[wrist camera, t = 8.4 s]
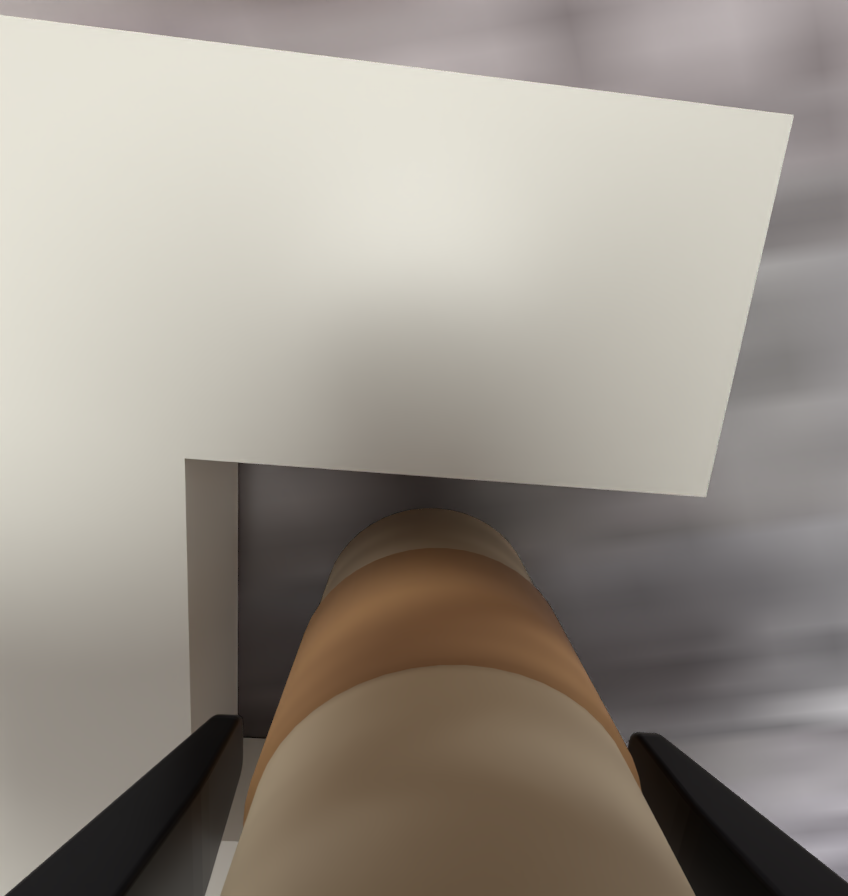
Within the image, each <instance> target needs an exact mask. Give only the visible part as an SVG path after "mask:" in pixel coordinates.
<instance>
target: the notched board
mask: <svg viewBox="0 0 848 896" xmlns="http://www.w3.org/2000/svg"><path fill="white" fill-rule="evenodd" d="M793 117H794V115H790V114H782V113H774V112H766V111H758V110H750V109H742V108H734V107H726V106H718V105H710V104H702V103H695V102H687V101H679V100H671V99H663V98H655V97H647V96H639V95H631V94H623V93H615V92H607V91H599V90H591V89H583V88H576V87H568V86H560V85H552V84H544V83H536V82H528V81H520V80H512V79H504V78H496V77H488V76H480V75H472V74H464V73H457V72H449V71H441V70H433V69H425V68H417V67H409V66H401V65H393V64H385V63H377V62H369V61H361V60H353V59H346V58H338V57H330V56H322V55H314V54H306V53H298V52H290V51H282V50H274V49H266V48H258V47H250V46H242V45H234V44H227V43H219V42H211V41H203V40H195V39H187V38H179V37H171V36H163V35H155V34H147V33H139V32H131V31H123V30H115V29H108V28H100V27H92V26H84V25H76V24H68V23H60V22H52V21H44V20H36V19H28V18H20V17H12V16H4V15H0V896H4V895H6V894H7V893H8V892H9V891H10V890H11V889H12V888H14V887H15V886H16V885H17V884H18V883H19V882H21V881H22V880H23V879H24V878H25V877H26V876H28V875H29V874H30V873H31V872H32V871H33V870H34V869H36V868H37V867H38V866H39V865H40V864H41V863H43V862H44V861H45V860H46V859H47V858H48V857H50V856H51V855H52V854H53V853H54V852H55V851H57V850H58V849H59V848H60V847H61V846H62V845H63V844H65V843H66V842H67V841H68V840H69V839H70V838H72V837H73V836H74V835H75V834H76V833H77V832H79V831H80V830H81V829H82V828H83V827H84V826H85V825H87V824H88V823H89V822H90V821H91V820H92V819H94V818H95V817H96V816H97V815H98V814H99V813H101V812H102V811H103V810H104V809H105V808H106V807H108V806H109V805H110V804H111V803H112V802H113V801H114V800H116V799H117V798H118V797H119V796H120V795H121V794H123V793H124V792H125V791H126V790H127V789H128V788H130V787H131V786H132V785H133V784H134V783H135V782H136V781H138V780H139V779H140V778H141V777H142V776H143V775H145V774H146V773H147V772H148V771H149V770H150V769H152V768H153V767H154V766H155V765H156V764H157V763H159V762H160V761H161V760H162V759H163V758H164V757H165V756H167V755H168V754H169V753H170V752H171V751H172V750H174V749H175V748H176V747H177V746H178V745H179V744H181V743H182V742H183V741H184V740H185V739H186V738H187V737H189V736H190V735H191V734H192V733H193V732H194V731H196V730H197V729H198V728H199V727H200V726H201V725H203V724H204V723H205V722H206V721H207V720H208V719H210V718H211V717H212V716H214V715H217V714H228V715H238V462H240V463H253V464H267V465H280V466H294V467H307V468H320V469H334V470H347V471H361V472H374V473H388V474H401V475H415V476H428V477H441V478H455V479H468V480H482V481H495V482H509V483H522V484H535V485H549V486H562V487H576V488H589V489H603V490H616V491H630V492H643V493H656V494H670V495H683V496H697V497H706V495H707V490H708V486H709V482H710V477H711V473H712V469H713V464H714V460H715V456H716V451H717V447H718V442H719V438H720V434H721V429H722V425H723V421H724V416H725V412H726V408H727V403H728V399H729V395H730V390H731V386H732V382H733V377H734V373H735V369H736V364H737V360H738V356H739V351H740V347H741V343H742V338H743V334H744V330H745V325H746V321H747V317H748V312H749V308H750V304H751V299H752V295H753V291H754V286H755V282H756V278H757V273H758V269H759V265H760V260H761V256H762V252H763V247H764V243H765V239H766V234H767V230H768V226H769V221H770V217H771V213H772V208H773V204H774V200H775V195H776V191H777V187H778V182H779V178H780V174H781V169H782V165H783V161H784V156H785V152H786V148H787V143H788V139H789V135H790V130H791V126H792V122H793ZM265 740H266V739H261V738H243V764H242V770H241V775H240V779H239V782H238V785H237V789H236V792H235V796H234V799H233V803H232V806H231V809H230V813H229V816H228V820H227V823H226V826H225V830H224V833H223V837H222V840H221V844H220V847H219V850H218V854H217V857H216V861H215V864H214V868H213V871H212V874H211V878H210V881H209V884H208V887H207V891H206V894H205V896H220V894H221V892H222V889H223V886H224V883H225V880H226V877H227V874H228V871H229V868H230V865H231V862H232V859H233V857H234V854H235V851H236V848H237V845H238V842H239V839H240V836H241V833H242V830H243V819H244V808H245V801H246V797H247V793H248V790H249V786H250V782H251V779H252V776H253V774H254V771H255V768H256V765H257V762H258V760H259V757H260V754H261V751H262V749H263V746H264V743H265Z"/></svg>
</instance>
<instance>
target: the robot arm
mask: <svg viewBox="0 0 848 896" xmlns="http://www.w3.org/2000/svg"><path fill="white" fill-rule="evenodd" d="M628 750H629V752H630V754H631V756H632V758H633V761H634V764H635V767H636V770H637V772H638V775H639V779H640V785H641V791H642V794H643V796H644V798H645V800H646V802H647V804H648V805H649V807H650V809H651V811H652V813H653V815H654V817H655V819H656V821H657V823H658V825H659V827H660V828H661V830H662V832H663V834H664V836H665V838H666V840H667V842H668V844H669V846H670V848H671V850H672V851H673V853H674V855H675V857H676V859H677V861H678V863H679V865H680V867H681V869H682V871H683V873H684V874H685V876H686V878H687V880H688V882H689V884H690V886H691V888H692V890H693V892H694V894H695V896H848V883H847V882H846V881H845V880H844V879H842V878H841V877H840V876H839V875H837V874H836V873H835V872H833V871H832V870H831V869H830V868H828V867H827V866H826V865H825V864H823V863H822V862H821V861H820V860H818V859H817V858H816V857H815V856H813V855H812V854H811V853H809V852H808V851H807V850H806V849H804V848H803V847H802V846H801V845H799V844H798V843H797V842H796V841H794V840H793V839H792V838H791V837H789V836H788V835H787V834H785V833H784V832H783V831H782V830H780V829H779V828H778V827H777V826H775V825H774V824H773V823H772V822H770V821H769V820H768V819H767V818H765V817H764V816H763V815H761V814H760V813H759V812H758V811H756V810H755V809H754V808H753V807H751V806H750V805H749V804H748V803H746V802H745V801H744V800H743V799H741V798H740V797H739V796H737V795H736V794H735V793H734V792H732V791H731V790H730V789H729V788H727V787H726V786H725V785H724V784H722V783H721V782H720V781H719V780H717V779H716V778H715V777H713V776H712V775H711V774H710V773H708V772H707V771H706V770H705V769H703V768H702V767H701V766H700V765H698V764H697V763H696V762H694V761H693V760H692V759H691V758H689V757H688V756H687V755H686V754H684V753H683V752H682V751H681V750H679V749H678V748H677V747H676V746H674V745H673V744H672V743H670V742H669V741H668V740H667V739H665V738H664V737H663V736H661V735H659V734H657V733H644V732H636V733H633V734H632V735H631V737H630V740H629V744H628ZM242 764H243V720H242V717H241V716H239V715H228V714H217V715H214V716H212V717H211V718H210V719H208V720H207V721H206V722H205V723H204V724H203V725H201V726H200V727H199V728H198V729H197V730H196V731H194V732H193V733H192V734H191V735H190V736H189V737H187V738H186V739H185V740H184V741H183V742H182V743H181V744H179V745H178V746H177V747H176V748H175V749H174V750H172V751H171V752H170V753H169V754H168V755H167V756H165V757H164V758H163V759H162V760H161V761H160V762H159V763H157V764H156V765H155V766H154V767H153V768H152V769H150V770H149V771H148V772H147V773H146V774H145V775H143V776H142V777H141V778H140V779H139V780H138V781H136V782H135V783H134V784H133V785H132V786H131V787H130V788H128V789H127V790H126V791H125V792H124V793H123V794H121V795H120V796H119V797H118V798H117V799H116V800H114V801H113V802H112V803H111V804H110V805H109V806H108V807H106V808H105V809H104V810H103V811H102V812H101V813H99V814H98V815H97V816H96V817H95V818H94V819H92V820H91V821H90V822H89V823H88V824H87V825H85V826H84V827H83V828H82V829H81V830H80V831H79V832H77V833H76V834H75V835H74V836H73V837H72V838H70V839H69V840H68V841H67V842H66V843H65V844H63V845H62V846H61V847H60V848H59V849H58V850H57V851H55V852H54V853H53V854H52V855H51V856H50V857H48V858H47V859H46V860H45V861H44V862H43V863H41V864H40V865H39V866H38V867H37V868H36V869H34V870H33V871H32V872H31V873H30V874H29V875H28V876H26V877H25V878H24V879H23V880H22V881H21V882H19V883H18V884H17V885H16V886H15V887H14V888H12V889H11V890H10V891H9V892H8V893H7V894H6V895H4V896H205V894H206V891H207V887H208V884H209V881H210V878H211V874H212V871H213V868H214V864H215V861H216V857H217V854H218V850H219V847H220V844H221V840H222V837H223V833H224V830H225V826H226V823H227V820H228V816H229V813H230V809H231V806H232V803H233V799H234V796H235V792H236V789H237V785H238V782H239V779H240V775H241V770H242Z"/></svg>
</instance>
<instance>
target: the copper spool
mask: <svg viewBox="0 0 848 896" xmlns="http://www.w3.org/2000/svg"><path fill="white" fill-rule="evenodd" d="M220 896H695V894H694V892H693V890H692V888H691V886H690V884H689V882H688V880H687V878H686V876H685V874H684V873H683V871H682V869H681V867H680V865H679V863H678V861H677V859H676V857H675V855H674V853H673V851H672V850H671V848H670V846H669V844H668V842H667V840H666V838H665V836H664V834H663V832H662V830H661V828H660V827H659V825H658V823H657V821H656V819H655V817H654V815H653V813H652V811H651V809H650V807H649V805H648V804H647V802H646V800H645V798H644V796H643V794H642V791H641V785H640V779H639V775H638V772H637V770H636V767H635V764H634V761H633V758H632V756H631V754H630V752H629V750H628V748H627V747H626V745H625V743H624V741H623V739H622V737H621V735H620V734H619V732H618V730H617V728H616V726H615V724H614V723H613V721H612V719H611V717H610V715H609V713H608V712H607V710H606V708H605V706H604V704H603V702H602V701H601V699H600V697H599V695H598V693H597V691H596V689H595V688H594V686H593V684H592V682H591V680H590V678H589V677H588V675H587V673H586V671H585V669H584V667H583V666H582V664H581V662H580V660H579V658H578V656H577V655H576V653H575V651H574V649H573V647H572V645H571V644H570V642H569V640H568V638H567V636H566V634H565V632H564V631H563V629H562V627H561V625H560V623H559V621H558V620H557V618H556V616H555V614H554V612H553V610H552V609H551V607H550V605H549V604H548V602H547V601H546V600H545V598H544V597H543V596H542V594H541V593H540V592H539V591H538V590H537V589H536V588H535V587H534V585H533V583H532V581H531V579H530V577H529V576H528V574H527V572H526V570H525V568H524V566H523V564H522V562H521V560H520V558H519V557H518V555H517V553H516V552H515V550H514V549H513V548H512V546H511V545H510V544H509V542H508V541H507V540H506V539H505V538H504V537H503V536H502V535H501V534H500V533H498V532H497V531H496V530H495V529H493V528H492V527H491V526H489V525H488V524H486V523H484V522H482V521H481V520H479V519H477V518H474V517H472V516H469V515H467V514H464V513H460V512H457V511H453V510H446V509H439V508H422V509H413V510H408V511H403V512H399V513H396V514H393V515H390V516H388V517H385V518H383V519H381V520H379V521H377V522H375V523H373V524H372V525H370V526H369V527H367V528H366V529H364V530H363V531H362V532H360V533H359V534H358V535H357V536H356V537H355V538H354V539H353V540H352V541H350V543H349V544H348V545H347V546H346V547H345V549H344V550H343V551H342V552H341V554H340V556H339V557H338V559H337V561H336V562H335V564H334V566H333V569H332V571H331V573H330V576H329V579H328V582H327V585H326V588H325V591H324V593H323V596H322V599H321V602H320V604H319V606H318V608H317V609H316V611H315V612H314V614H313V616H312V617H311V619H310V621H309V624H308V626H307V628H306V630H305V633H304V635H303V638H302V641H301V644H300V646H299V649H298V652H297V655H296V657H295V660H294V663H293V666H292V669H291V671H290V674H289V677H288V680H287V682H286V685H285V688H284V691H283V693H282V696H281V699H280V702H279V704H278V707H277V710H276V713H275V716H274V718H273V721H272V724H271V727H270V729H269V732H268V735H267V738H266V740H265V743H264V746H263V749H262V751H261V754H260V757H259V760H258V762H257V765H256V768H255V771H254V774H253V776H252V779H251V782H250V786H249V790H248V793H247V797H246V801H245V808H244V819H243V830H242V833H241V836H240V839H239V842H238V845H237V848H236V851H235V854H234V857H233V859H232V862H231V865H230V868H229V871H228V874H227V877H226V880H225V883H224V886H223V889H222V892H221V894H220Z"/></svg>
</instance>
